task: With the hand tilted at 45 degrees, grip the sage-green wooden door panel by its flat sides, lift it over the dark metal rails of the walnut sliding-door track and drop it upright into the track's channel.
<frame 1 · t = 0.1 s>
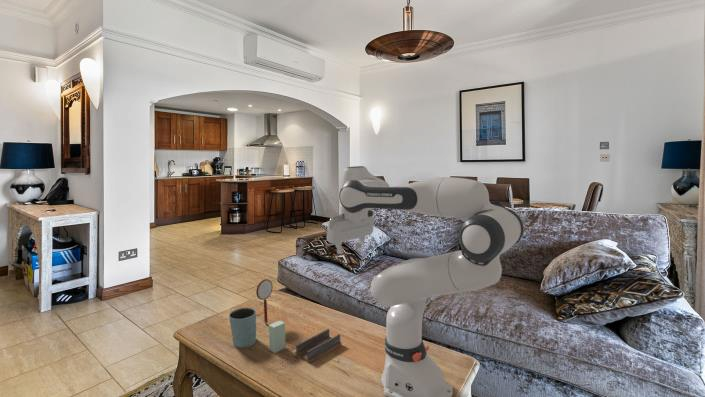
hand: (349, 250, 123), 39 cm above the table, tool pointing down, fingers open, 8 cm apart
track: (318, 349, 131), on the table
door panel: (277, 348, 132), on the table
magnifying glass: (266, 324, 152), on the table
blue-grey cylindrical cup: (244, 342, 137), on the table
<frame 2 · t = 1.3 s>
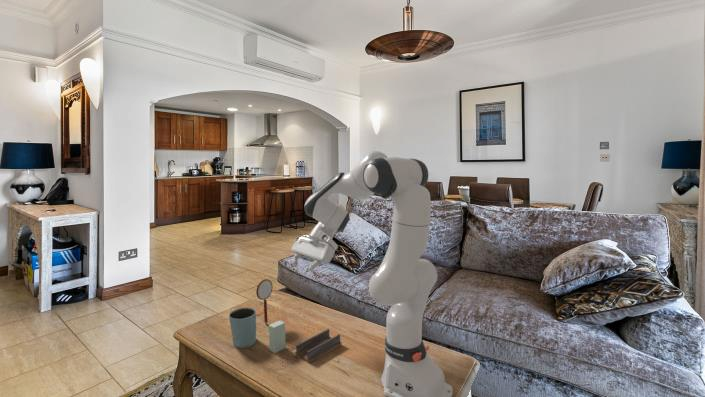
hand: (301, 267, 137), 29 cm above the table, tool tilted 45°, fingers open, 8 cm apart
nothing on the table moved.
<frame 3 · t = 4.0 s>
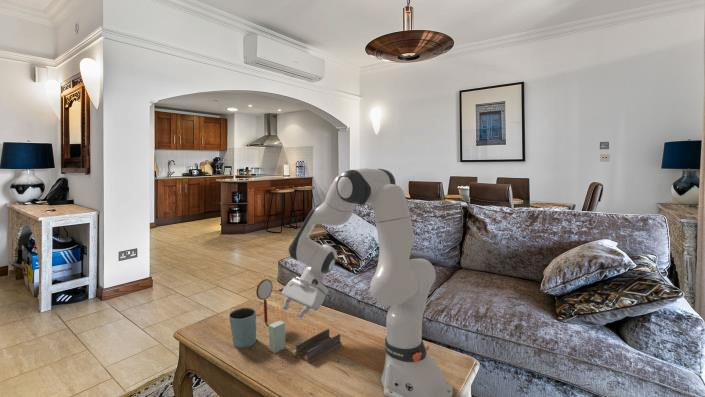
hand: (291, 312, 136), 12 cm above the table, tool tilted 45°, fingers open, 8 cm apart
nothing on the table moved.
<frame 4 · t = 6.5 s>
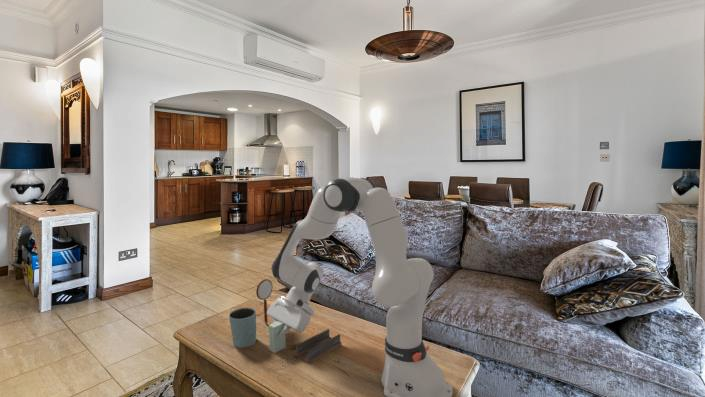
hand: (275, 334, 131), 6 cm above the table, tool tilted 45°, fingers closed on door panel, 3 cm apart
door panel: (277, 348, 132), on the table, touching gripper
everything else where it was.
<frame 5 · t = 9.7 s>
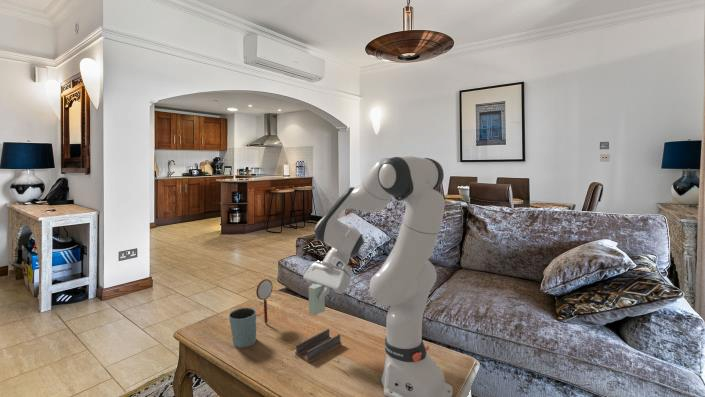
hand: (315, 297, 128), 21 cm above the table, tool tilted 45°, fingers closed on door panel, 3 cm apart
door panel: (317, 312, 129), point 15 cm above the table, touching gripper
everything else where it was.
when the fingers open (8 cm above the table, at t = 12.9 s): door panel drops 1 cm, resting on track.
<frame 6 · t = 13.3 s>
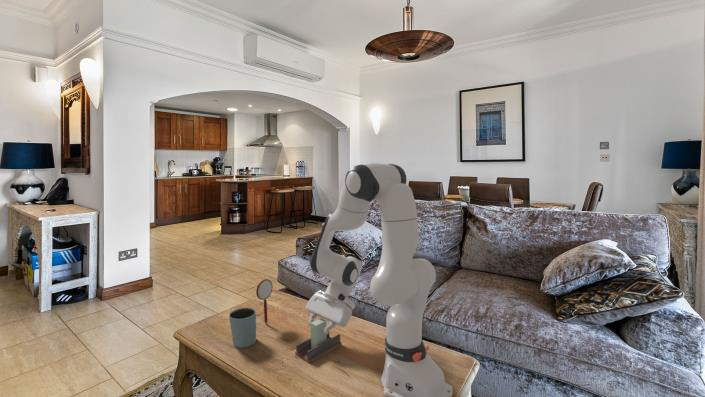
hand: (317, 329, 130), 8 cm above the table, tool tilted 45°, fingers open, 7 cm apart
door panel: (319, 347, 131), point 1 cm above the table, touching track
everything else where it was.
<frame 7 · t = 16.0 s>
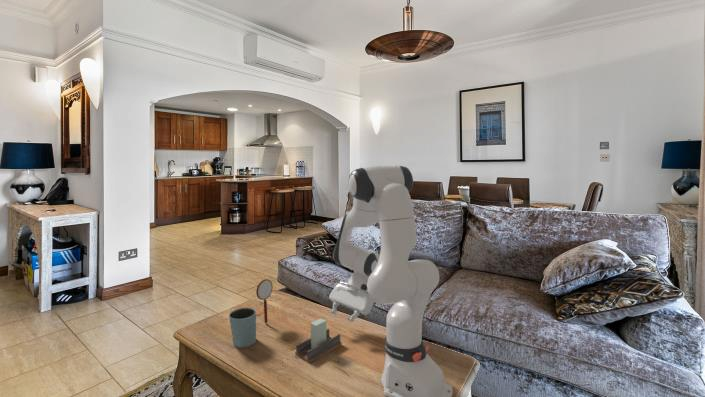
hand: (341, 317, 139), 8 cm above the table, tool tilted 45°, fingers open, 8 cm apart
nothing on the table moved.
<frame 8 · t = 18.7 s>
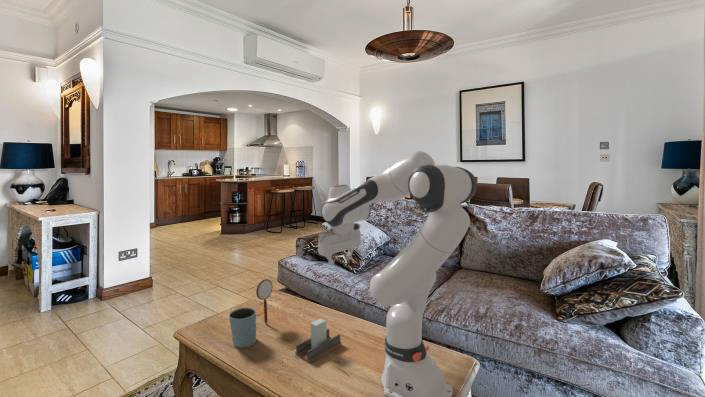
hand: (340, 261, 136), 31 cm above the table, tool pointing down, fingers open, 8 cm apart
nothing on the table moved.
at the end: door panel inside the target area on the track (0.0 cm from its centre), point 1.0 cm above the track's base; door panel tilted 0°; the gripper is holding nothing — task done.
